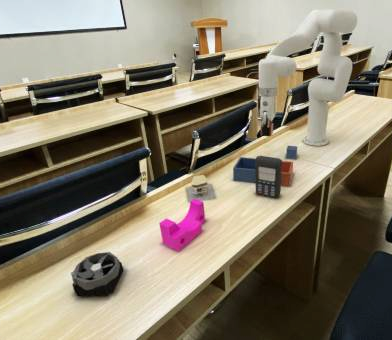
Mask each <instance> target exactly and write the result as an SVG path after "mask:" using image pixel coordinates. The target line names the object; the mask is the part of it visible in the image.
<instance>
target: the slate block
mask: <svg viewBox="0 0 392 340" xmlns="http://www.w3.org/2000/svg"><path fill="white" fill-rule="evenodd" d="M285 155H286V156H285V158H286V159H288V160H289V159H291V160H297V157H298V146H296V145H287V147H286V153H285Z"/></svg>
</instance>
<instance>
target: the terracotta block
mask: <svg viewBox="0 0 392 340" xmlns="http://www.w3.org/2000/svg"><path fill="white" fill-rule="evenodd" d="M266 123H267V122H266ZM267 124H268V123H267ZM269 127H270V136H269V137H272V135H273V134H274V122H272V123H269ZM260 136H261V137H263V136H262V124H261V125H260Z"/></svg>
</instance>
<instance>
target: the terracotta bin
mask: <svg viewBox="0 0 392 340" xmlns="http://www.w3.org/2000/svg"><path fill="white" fill-rule="evenodd" d="M293 174H294V161H290V160H289V161H288V160H282V174H281V187H291V182H292V180H293V179H292V178H293Z"/></svg>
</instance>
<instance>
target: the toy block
mask: <svg viewBox="0 0 392 340" xmlns="http://www.w3.org/2000/svg"><path fill="white" fill-rule="evenodd" d="M205 222H206V213H205V203H204V201H203V200H197V199H193V200H192V201H190V202H189V207H188V210H187V213H186V215H185V216H184V217H183V219H182V220H181V221H179V222H178V223H176V221H174V220H171V219H169V218H164V219H163V220H161V221H160V222H159V223H158V224H159V230H160V233H161V234H160V235H161V240H162V244H163V245H164V246H167V247H169V248H171V249H173V250H175V251H177V252H180V251H181V250H182V249H183V248H185V246H187V245H188V244H189V243H191V241H193V240H194V239H196V238H197V236H199V235H200V234H201V233H202V232H203V228H202V227H203V226H202V225H203V224H204V223H205Z"/></svg>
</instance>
